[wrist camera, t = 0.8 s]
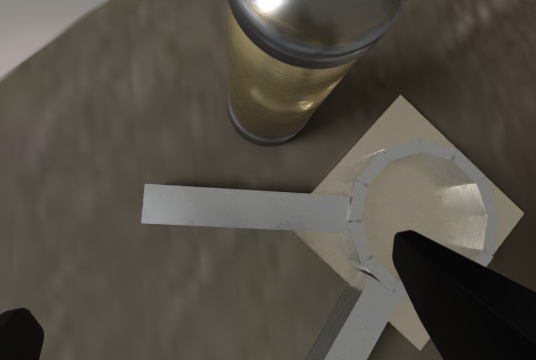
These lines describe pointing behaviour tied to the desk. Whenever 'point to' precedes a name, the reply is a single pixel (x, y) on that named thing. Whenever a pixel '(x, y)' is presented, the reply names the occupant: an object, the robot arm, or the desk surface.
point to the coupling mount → (365, 221)
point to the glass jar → (295, 58)
